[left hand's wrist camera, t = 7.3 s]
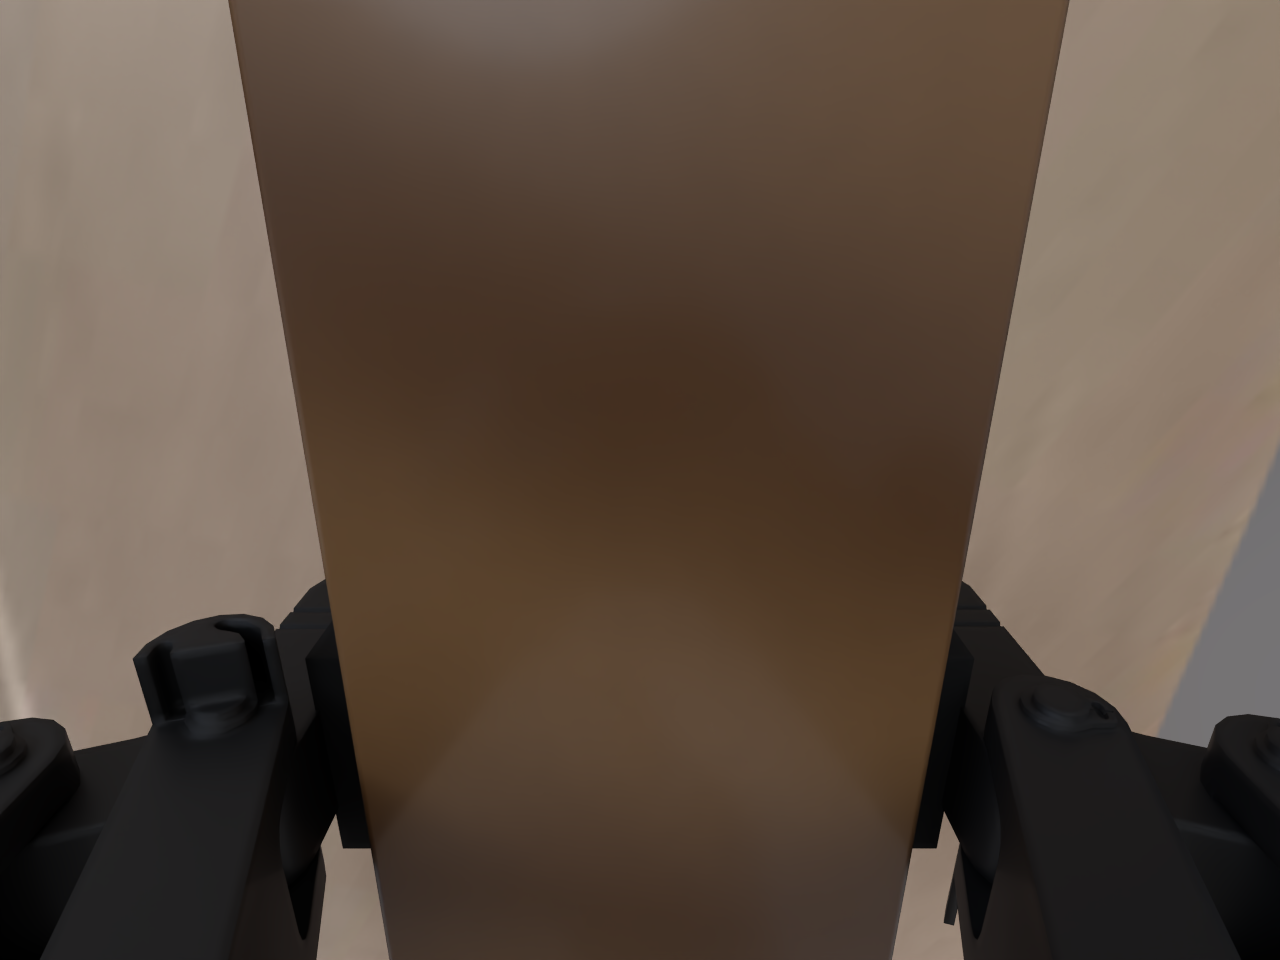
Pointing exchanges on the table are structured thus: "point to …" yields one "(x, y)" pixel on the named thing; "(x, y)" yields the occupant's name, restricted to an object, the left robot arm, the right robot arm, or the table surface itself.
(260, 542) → the table surface
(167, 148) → the table surface
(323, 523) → the bar
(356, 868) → the table surface
